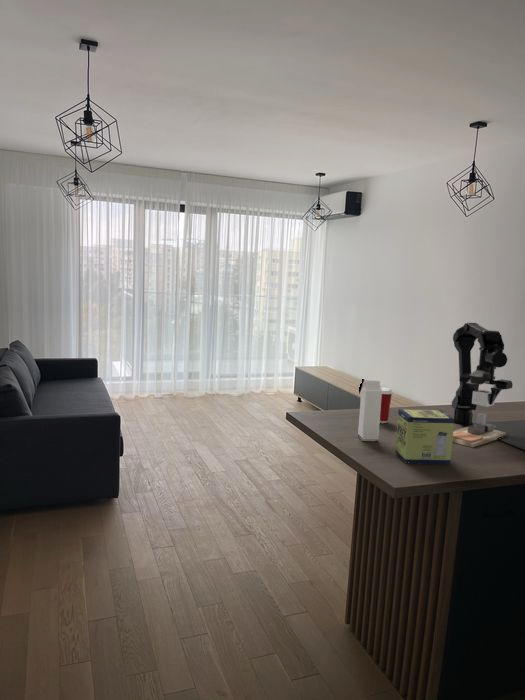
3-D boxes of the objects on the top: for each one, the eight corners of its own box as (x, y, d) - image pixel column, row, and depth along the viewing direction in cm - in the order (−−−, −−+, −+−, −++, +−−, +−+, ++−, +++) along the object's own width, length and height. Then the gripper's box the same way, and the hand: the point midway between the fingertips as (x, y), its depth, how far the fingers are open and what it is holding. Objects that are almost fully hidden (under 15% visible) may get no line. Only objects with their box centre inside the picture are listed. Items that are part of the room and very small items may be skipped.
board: (440, 438, 201) (440, 433, 201) (474, 428, 218) (474, 423, 218) (472, 447, 192) (473, 441, 191) (505, 436, 209) (506, 431, 208)
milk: (357, 437, 199) (361, 378, 196) (373, 437, 199) (377, 379, 196) (362, 442, 193) (366, 382, 190) (378, 442, 193) (382, 382, 190)
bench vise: (467, 432, 206) (469, 414, 205) (484, 427, 215) (486, 410, 214) (479, 435, 203) (480, 417, 202) (495, 430, 212) (497, 412, 211)
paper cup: (390, 420, 224) (393, 388, 222) (389, 425, 217) (391, 391, 215) (372, 418, 227) (374, 386, 225) (369, 422, 220) (372, 389, 218)
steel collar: (471, 403, 207) (472, 390, 206) (479, 401, 211) (480, 389, 210) (486, 406, 202) (488, 393, 202) (494, 404, 206) (495, 392, 206)
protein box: (394, 453, 181) (397, 408, 179) (438, 454, 182) (442, 410, 180) (404, 464, 171) (408, 416, 169) (451, 464, 172) (455, 418, 170)
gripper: (453, 361, 206) (450, 400, 208) (501, 368, 192) (496, 410, 194) (468, 359, 214) (464, 397, 216) (515, 366, 200) (510, 407, 202)
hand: (483, 402), depth 207 cm, fingers closed on steel collar, 6 cm apart
